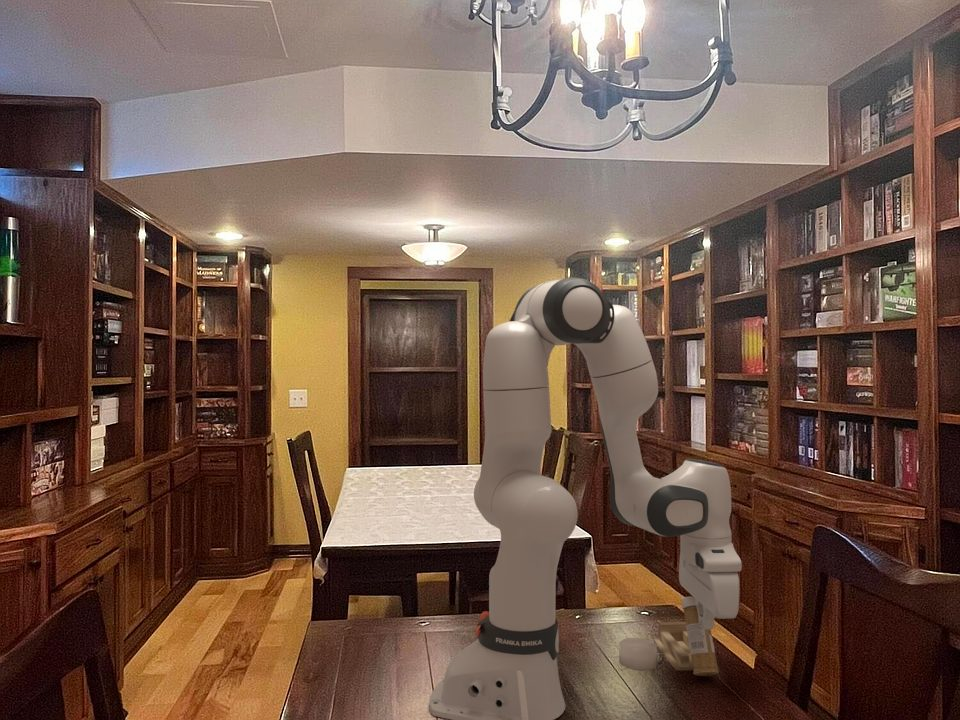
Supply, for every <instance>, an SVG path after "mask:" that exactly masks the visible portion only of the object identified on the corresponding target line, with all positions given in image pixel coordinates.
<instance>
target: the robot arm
mask: <svg viewBox="0 0 960 720" xmlns="http://www.w3.org/2000/svg"><path fill="white" fill-rule="evenodd" d="M572 344H573V345H575V346H576V347H577V348H578V349H579V350H580V352H581V354H583V357H584V359H585V361H586V366H587V369H588V372H589V373H588V374H589V376H590V379H591V383H592V387H593V390H594V394H595V397H596V401H597V402H596V403H597V407H598V417H599V419H598V420H599V425H600V431H601V435H602V440H603V443H604V445H603V446H604V450H605V453H606V458H607V459H606V460H607V463H608V467H609V473H610V487H609V505H610V508H611V510H612V513H613V514H614V517H616V519H618V520H619V521H620V522H621V523H622V524H625V525H627V526H631V527H635V528H639V529H642V530H645V531H646V532H649V533H653V534H655V535H658V536H660V537H666V538H674V537H680V542H679V543H680V548H679V549H680V553H679V562H678V563H679V565H678V566H679V567H678V581H679V584H680V586H681V587H682V588H684V589H685V590H686V592H688V593H689V594H690V596H693V597H694V598H696V606H697V611H698V616H699V623H700V624H701V625H702V626H703V627H704V628H705V629H710V630H714V628H715V619H735V618H736V617H737V615H738V613H739V608H740V606H739V605H740V576H739V574H738V572H741V571H742V570H743V569H742V568H743V566H742V565H743V564H742V560H741V558H740V556H739V554H738V553H737V551H736V550H735V548H734V543H733V542H732V540H733V539H732V529H731V525H730V517H731V513H732V488H731V487H732V486H731V482H730V475H729V473H728V470H727V468H726V467H725V466H724V465H722V464H721V463H717V462H714V461H713V462H712V461H709V460H703V459H696V458H687V459H685V460H684V461H683V463H682V465H680V466H679V467H678V468H677V469H675V470H674V471H673V472H670V473H669V474H668V475H666V476H663V477H660V478H658V477H654V476H653V475H652V474H650V472H649V471H648V470H647V469H646V468H645V466H644V463H643V458H642V453H641V449H640V443H639V439H638V433H637V423H638V420H639V419H640V417H641V416H642V415H644V414H645V413H647V412H648V411H649V410H650V409H651V408H652V407H653V405H654V404H655V401H656V400H657V397H658V394H659V381H658V375H657V370H656V366H655V364H654V361H653V358H652V354H651V352H650V351H651V350H650V348H649V345H648V343H647V340H646V337H645V334H644V333H643V331H642V327H640V325H639V322H638V320H637V318H636V316H635V314H633V312H632V311H631V309H629V308H628V307H626V306H623V305H621V304H612V303H611V302H610V301H609V299H607V297H606V295H605V294H604V292H603V291H602V290H601V288H600V287H598V286H597V285H596V284H594V283H593V282H592V281H589V279H584V278H581V277H575V276H574V277H570V276H569V277H566V278H562V279H551V280H547V281H544V282H542V283H541V284H537V285H535V286H533V287H530V288H529V289H527V290H526V291H525V292H524V293H523V294H522V295H521V297H519V300H518V301H517V303H516V305H515V308H514V310H513V313H512V314H511V317H510V318H509V321H506V322H502V323H500V324H498V325H496V326H494V327H492V329H491V330H489V332H488V334H487V335H486V339H485V345H484V352H483V363H482V390H483V391H482V393H483V411H484V412H483V413H484V416H483V417H484V445H483V454H482V460H481V461H482V462H481V467H480V473H479V477H478V479H477V480H476V483H475V485H474V489H473V501H474V504H475V507H476V508H477V510H478V511H479V513H480V514H481V516H482V518H483V519H484V520H485V521H486V522H488V524H490V525H491V526H493V527H495V528H497V529H499V532H500V543H499V549H498V554H497V557H496V559H495V564H494V565H493V566H492V567H491V569H490V571H489V576H488V577H489V579H488V586H489V587H488V596H489V597H488V609H489V610H488V611H487V610H485V611H482V613H481V614H480V616H479V617H478V623H477V625H476V626H477V627H476V637H477V639H476V640H475V641H473V642H472V643H470V644H469V645H467V646H466V647H464V648H463V649H462V650H460V651H458V652H457V653H456V654H455V655H454V656H453V658H452V659H451V660H450V662H448V666H446V670H445V675H444V678H443V679H442V681H440V682H439V683H438V684H437V686H435V687H434V689H433V690H432V693H431V694H430V697H429V703H428V708H429V712H430V713H431V715H432V716H434V717H439V718H443V719H448V720H556V719H557V718H559V717H560V716H561V715H562V714H563V713H564V711H565V710H566V702H565V699H564V694H563V692H562V686H561V682H560V676H559V675H560V674H559V667H558V655H559V651H560V650H559V649H560V648H559V647H560V643H559V642H560V638H559V637H560V634H559V633H560V631H559V630H560V629H559V624H558V623H559V622H558V619H557V617H556V589H557V588H556V587H557V585H556V583H557V581H556V579H557V573H558V565H559V561H560V557H561V554H562V551H563V550H562V549H563V546H564V544H565V541H567V540H568V539H569V538H570V537H571V535H572V534H573V532H574V530H575V528H576V526H577V523H578V517H579V516H578V515H579V513H578V507H577V506H578V505H577V503H576V500H575V499H574V497H573V495H572V494H571V493H570V492H569V491H568V490H567V489H566V488H565V487H564V486H563V485H562V484H561V483H559V482H558V481H556V479H553V478H551V477H548V476H545V475H543V474H542V472H541V466H542V465H541V464H542V459H543V454H544V449H545V446H546V443H547V441H548V440H549V439H550V437H551V434H552V415H551V414H552V413H551V399H550V398H551V396H550V395H551V394H550V380H549V369H548V367H549V361H550V356H551V353H552V351H553V350H554V348H555V346H566V345H572Z"/></svg>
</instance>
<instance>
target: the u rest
mask: <svg viewBox="0 0 960 720" xmlns="http://www.w3.org/2000/svg"><path fill="white" fill-rule="evenodd" d="M653 642H654V643H655V644H656V645H657V649H659V651H660V652H661V653H662V655H663V657H665V658H666V660H667V661H668V662H669V663H670V665H671V666H672V667H673V669H674V670H675V671H694V670H693V663H692V658H691V654H690V648H689V642H688V635H687V630H686V621H658V638H653ZM717 667H718V668H719V665H717Z"/></svg>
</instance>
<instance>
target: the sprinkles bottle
mask: <svg viewBox="0 0 960 720" xmlns="http://www.w3.org/2000/svg"><path fill="white" fill-rule="evenodd" d="M681 609H682V610H683V614H684V620H685V621H684V622H686V630H687V635H688V642H689V648H690V654H691V658H692V663H693V670H692V671H693V672H692V673H693V675H695V676H700V677H701V676H703V677H707V676H708V677H709V676H710V677H711V676H715V675H718V674H719V673H720V671H719V666H718V662H717V656H716V650H715V645H714V640H713V636H712V635H713V634H712V629H705V628H704V627H703V626H702V625H701V624H700V623H699V616H698V611H697V606H696V598H694V597H693V596H692V595H690V596H685V597H682V599H681ZM717 666H718V667H717Z"/></svg>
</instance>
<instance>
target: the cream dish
mask: <svg viewBox="0 0 960 720" xmlns="http://www.w3.org/2000/svg"><path fill="white" fill-rule="evenodd" d="M618 645H619V655H618V656H619V658H618V659H619V661H618V662H619V664H620V665H621V666H622V667H624V668H627V669H629V670H634V671H650V670H653V669H656V667H657V666H658V647H657V645H656V644H655V643H654V641H652V640H649V639H645V638H640V637H630V638H624V639H622V640H620V641H619V643H618Z"/></svg>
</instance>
